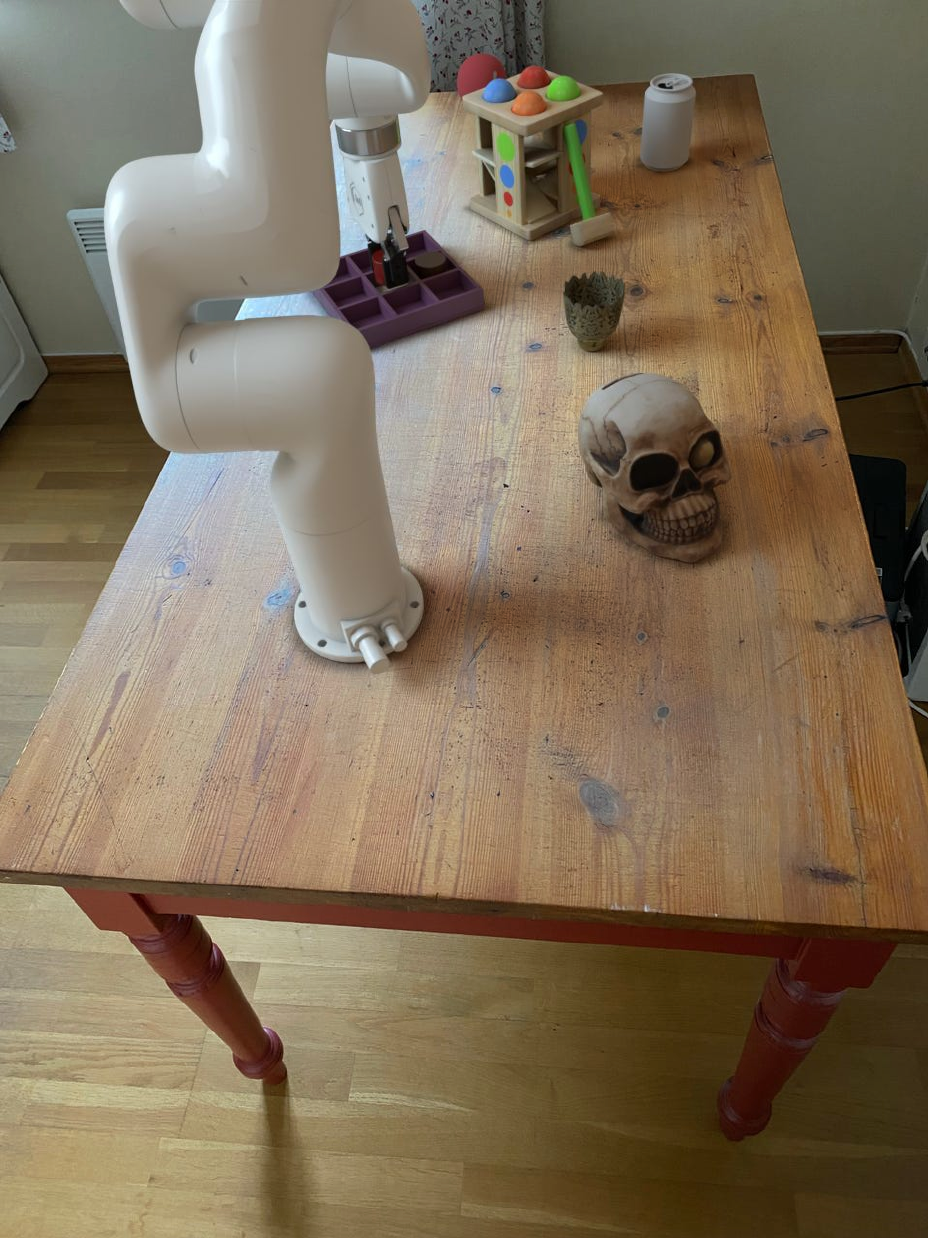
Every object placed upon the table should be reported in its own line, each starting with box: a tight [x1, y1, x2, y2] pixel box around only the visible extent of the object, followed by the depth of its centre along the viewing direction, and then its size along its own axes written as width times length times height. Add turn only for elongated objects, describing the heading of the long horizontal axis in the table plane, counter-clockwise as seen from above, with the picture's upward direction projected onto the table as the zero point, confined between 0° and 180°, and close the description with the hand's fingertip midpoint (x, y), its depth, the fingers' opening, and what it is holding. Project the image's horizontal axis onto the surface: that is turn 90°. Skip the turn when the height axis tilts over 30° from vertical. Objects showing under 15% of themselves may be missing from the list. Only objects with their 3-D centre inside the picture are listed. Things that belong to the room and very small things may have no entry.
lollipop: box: [456, 52, 507, 102], centre depth 141 cm, size 8×8×15 cm
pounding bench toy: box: [462, 65, 615, 247], centre depth 126 cm, size 23×14×18 cm, turn 38°
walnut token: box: [415, 251, 447, 280], centre depth 122 cm, size 4×4×3 cm
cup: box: [562, 270, 626, 352], centre depth 109 cm, size 8×7×8 cm
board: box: [311, 229, 485, 349], centre depth 121 cm, size 19×19×3 cm
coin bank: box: [577, 372, 733, 563], centre depth 90 cm, size 16×17×13 cm
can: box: [639, 72, 697, 173], centre depth 136 cm, size 8×8×12 cm
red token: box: [372, 247, 389, 286], centre depth 118 cm, size 4×4×3 cm
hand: (390, 275), depth 119 cm, fingers closed on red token, 4 cm apart
